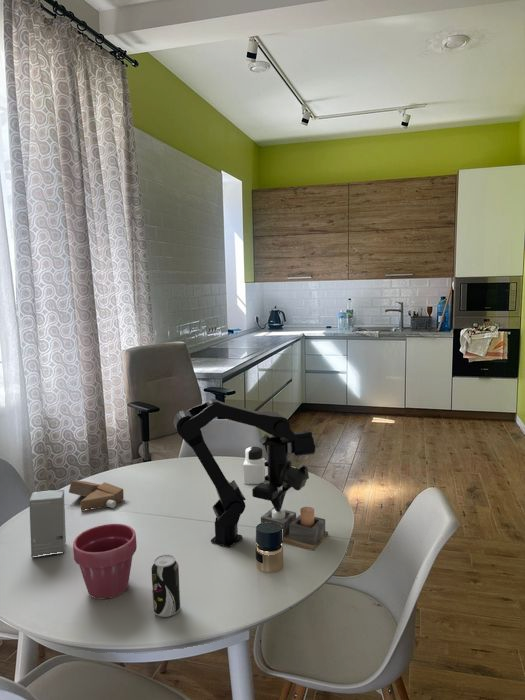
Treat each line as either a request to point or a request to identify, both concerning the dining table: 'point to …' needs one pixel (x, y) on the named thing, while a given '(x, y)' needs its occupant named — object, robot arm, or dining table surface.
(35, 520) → the skincare box
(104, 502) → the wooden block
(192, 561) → the dining table surface
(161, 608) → the beverage can
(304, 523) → the terracotta plunger
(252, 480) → the medicine bottle
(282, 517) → the white short rounded cylinder
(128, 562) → the plant pot
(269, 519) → the double box holder
